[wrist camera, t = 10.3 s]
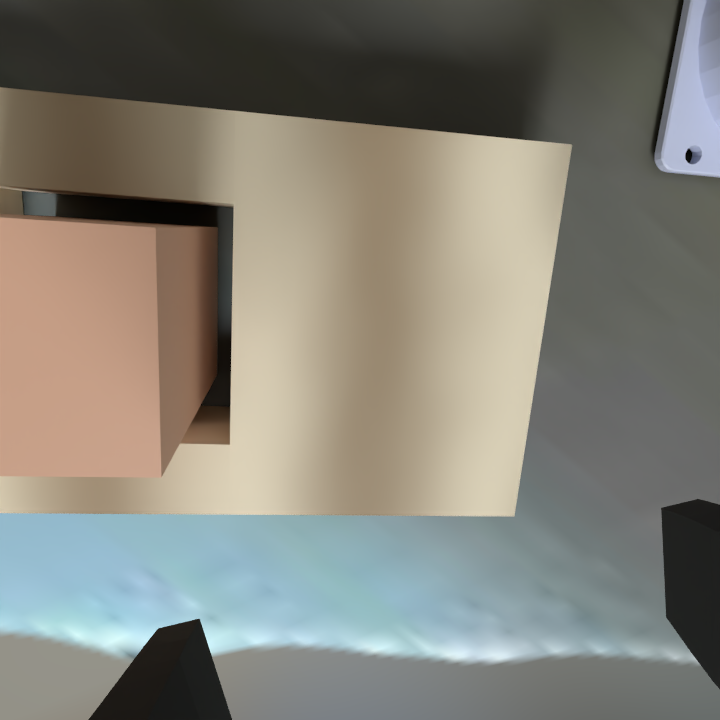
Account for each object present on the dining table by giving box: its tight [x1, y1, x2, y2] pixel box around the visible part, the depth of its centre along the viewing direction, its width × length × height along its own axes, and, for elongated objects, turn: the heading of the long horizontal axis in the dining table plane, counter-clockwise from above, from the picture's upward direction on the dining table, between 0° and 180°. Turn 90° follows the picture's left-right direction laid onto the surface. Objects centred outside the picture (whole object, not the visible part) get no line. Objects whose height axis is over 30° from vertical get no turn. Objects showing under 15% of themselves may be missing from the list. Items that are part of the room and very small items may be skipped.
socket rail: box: [0, 87, 572, 516], centre depth 14 cm, size 22×10×3 cm, turn 86°
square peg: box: [0, 214, 218, 478], centre depth 12 cm, size 4×4×7 cm
